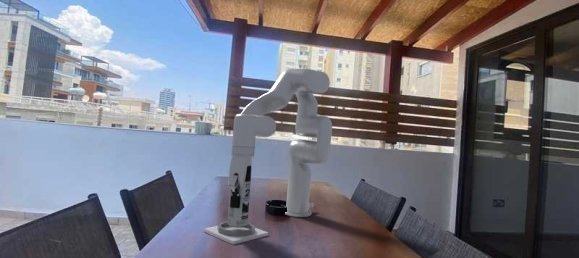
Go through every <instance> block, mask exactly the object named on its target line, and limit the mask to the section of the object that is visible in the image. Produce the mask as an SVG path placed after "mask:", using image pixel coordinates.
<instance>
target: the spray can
mask: <svg viewBox="0 0 579 258" xmlns="http://www.w3.org/2000/svg"><path fill="white" fill-rule="evenodd" d="M251 181H252V168H251V165H250V166H247V171H246V178H245V183H244V186H243V187H241V192H240V196H241V201H240V208H231V207H230V200H231V187H230V186H229V196H228V208H227V209H228V211H227V221H228V226H231V227H236V228H242V227H245V226H247V224H248V223H249V210H250V209H249V207H250V198H251V184H252V183H251ZM239 185H240V184H239V181H237V184H236V186H239ZM238 189H239V188H237V190H238Z"/></svg>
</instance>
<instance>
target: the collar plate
mask: <svg viewBox="0 0 579 258" xmlns="http://www.w3.org/2000/svg"><path fill="white" fill-rule="evenodd" d="M203 232H204V233H207V234H208V235H211V236H212V237H215V238H217V239H219V240H222V241H225V242H226V243H228V244H231V245H236V244H241V243H245V242H248V241H251V240H255V239H261V238H264V237H268V236H269V232H267V231H265V230H262V229H260V228H257V227H256V226H255V225H254V224H253V223H250V222H248V224H247V226H245V227H242V228H236V227H231V226H228V220H226V221H220V222H219V223H218V224H217V225H214V226H211V227H205V228H203Z"/></svg>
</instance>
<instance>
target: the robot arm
mask: <svg viewBox="0 0 579 258" xmlns="http://www.w3.org/2000/svg"><path fill="white" fill-rule="evenodd" d="M330 83H331V81H330V77H329V75H328V74H327V73H326V72H324V71H320V70H315V69H311V68H288V69H285V70H284V71H283V72H281V74H280V75H279V76H278V78H277V79H276V81H275V82H274V84H273V85H272V87H271V88H270V89H269V91H268V92H266V93H264V94H262V95H261V96H259V97H257V98H256V99H254V100H252V101H251V102H250V103H249V104H247V105H246V106H245V108H243V110H242V112H241V113H238V114H235V115H234V119H233V127H232V129H233V131H232V143H231V154H230V155H231V156H232V157H231V160H230V164H229V165H230V166H229V171H228V181H227V185H228V186H229V188H230V187H231V200H230V207H231V208H240V201H241V196H240V192H241V187H243V186H244V183H245V178H246V171H247V166H250V165H251V169H252V168H253V167H252V165H253V164H252V163H253V159H252V158H254V157H255V153H256V152H255V149H256V140H257V138H269V137H271V136H273V135H274V134H275V133H276V130H277V122H276V121H275V119H274V118H273V117H271V116H270V115H269V116H268V115H266V114H270V113H271V112H272V113H273V112H276V111H280V110H281V109H284V108H286V107H287V106H288V104H289V102H290V101H291V100H292V98H293V97H294V95H295V97H296V98H297V112H296V119H295V130H294V131H295V132H296V134H297V135H298V136H300V137H305V138H314V139H316V140H311V139H308V140H307V139H295V140H292V141H291V142H290V143H289V146H288V161H289V164H288V165H289V167H288V168H289V169H288V180H287V189H286V190H287V191H286V192H287V193H286V205H285V208H286V207H287V212H285V214H284V215H286V216H289V217H295V218H307V217H310V216H311V215H312V211H311V210H310V208H314V206H315V203H313V202H310V193H311V192H310V191H311V179H312V172H311V168H310V165H309V164H312V165H320V166H321V165H324V164H326V163H327V162H328V160H329V157H330V149H331V143H332V137H333V136H332V135H333V124H332V122H333V121H331V119H330V117H328V116H326V115H319V114H318V107H319V103H318V101H317V99H316V97H315V95H314V94H323V93H326V92H327V91H328V89H329V88H330ZM256 137H257V138H256ZM237 181H239V184H240V185H239V186H236V184H237ZM237 188H239V189H238V190H237Z"/></svg>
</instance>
